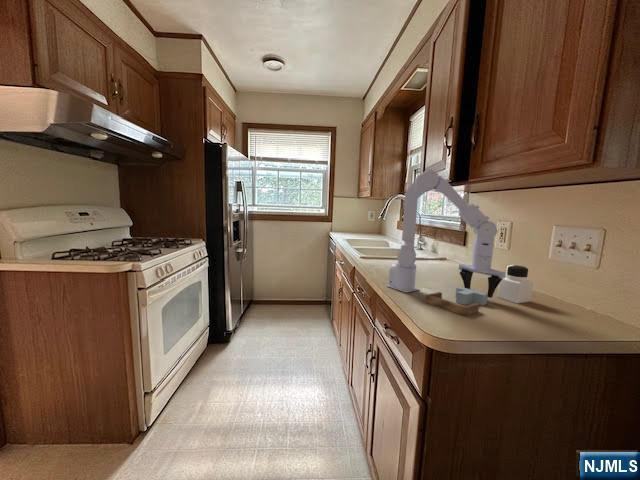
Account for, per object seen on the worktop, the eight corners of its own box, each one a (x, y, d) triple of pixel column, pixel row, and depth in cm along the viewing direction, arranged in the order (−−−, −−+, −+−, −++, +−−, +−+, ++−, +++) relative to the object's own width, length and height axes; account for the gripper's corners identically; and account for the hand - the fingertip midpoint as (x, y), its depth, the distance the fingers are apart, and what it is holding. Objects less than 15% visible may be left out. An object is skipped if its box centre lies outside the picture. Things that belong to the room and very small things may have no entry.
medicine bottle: (530, 301, 94) (535, 267, 92) (517, 303, 91) (521, 268, 90) (510, 295, 100) (513, 263, 99) (496, 297, 98) (500, 264, 96)
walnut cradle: (425, 302, 89) (426, 295, 89) (438, 298, 93) (438, 292, 93) (465, 316, 78) (466, 308, 78) (478, 311, 82) (479, 304, 82)
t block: (447, 299, 93) (448, 289, 92) (459, 296, 97) (460, 286, 97) (474, 308, 85) (475, 297, 85) (486, 304, 90) (487, 293, 89)
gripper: (511, 258, 90) (506, 298, 92) (467, 251, 102) (463, 286, 103) (501, 260, 86) (496, 301, 88) (457, 252, 98) (453, 289, 99)
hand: (478, 293), depth 95 cm, fingers open, 7 cm apart
